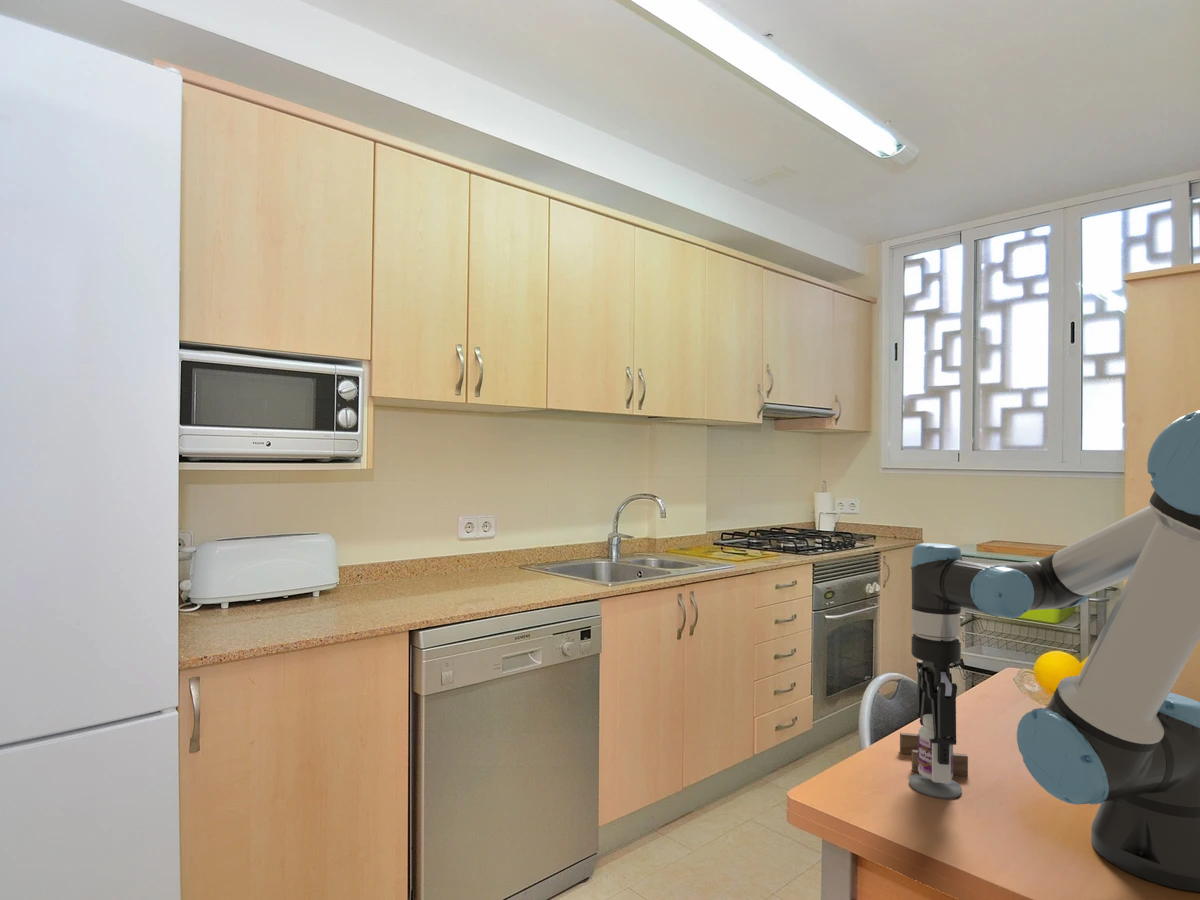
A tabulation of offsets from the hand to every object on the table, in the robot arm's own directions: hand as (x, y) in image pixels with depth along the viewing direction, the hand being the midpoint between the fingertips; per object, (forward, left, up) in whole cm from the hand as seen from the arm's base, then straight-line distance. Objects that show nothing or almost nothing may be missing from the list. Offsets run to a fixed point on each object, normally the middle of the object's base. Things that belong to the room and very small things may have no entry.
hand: (935, 773), depth 116 cm
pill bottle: (0, 0, 0) cm, 0 cm away
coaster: (0, 0, -2) cm, 2 cm away
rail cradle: (+10, -2, -2) cm, 11 cm away
